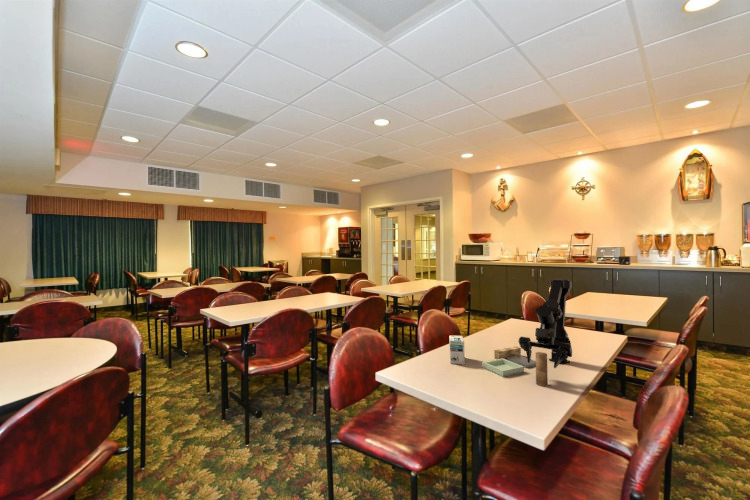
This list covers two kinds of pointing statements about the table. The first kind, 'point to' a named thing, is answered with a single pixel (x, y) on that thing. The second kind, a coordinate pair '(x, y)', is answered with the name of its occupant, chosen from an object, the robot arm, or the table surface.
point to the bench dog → (507, 352)
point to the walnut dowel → (541, 369)
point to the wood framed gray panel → (521, 361)
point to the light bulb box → (456, 349)
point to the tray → (503, 367)
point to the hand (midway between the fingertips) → (541, 365)
